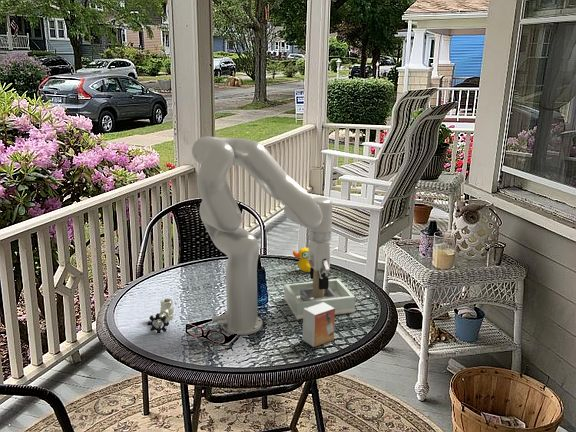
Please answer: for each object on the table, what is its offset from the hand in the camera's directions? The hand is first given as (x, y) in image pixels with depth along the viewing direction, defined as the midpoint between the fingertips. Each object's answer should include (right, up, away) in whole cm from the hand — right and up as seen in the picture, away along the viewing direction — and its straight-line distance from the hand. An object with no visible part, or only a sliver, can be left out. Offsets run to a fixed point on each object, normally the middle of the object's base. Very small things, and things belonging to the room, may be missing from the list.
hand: (319, 283), depth 180 cm
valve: (-50, -12, -11) cm, 53 cm away
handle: (0, -7, +2) cm, 7 cm away
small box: (-1, -15, -21) cm, 25 cm away
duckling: (-3, 0, +32) cm, 32 cm away
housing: (0, -8, +2) cm, 8 cm away
